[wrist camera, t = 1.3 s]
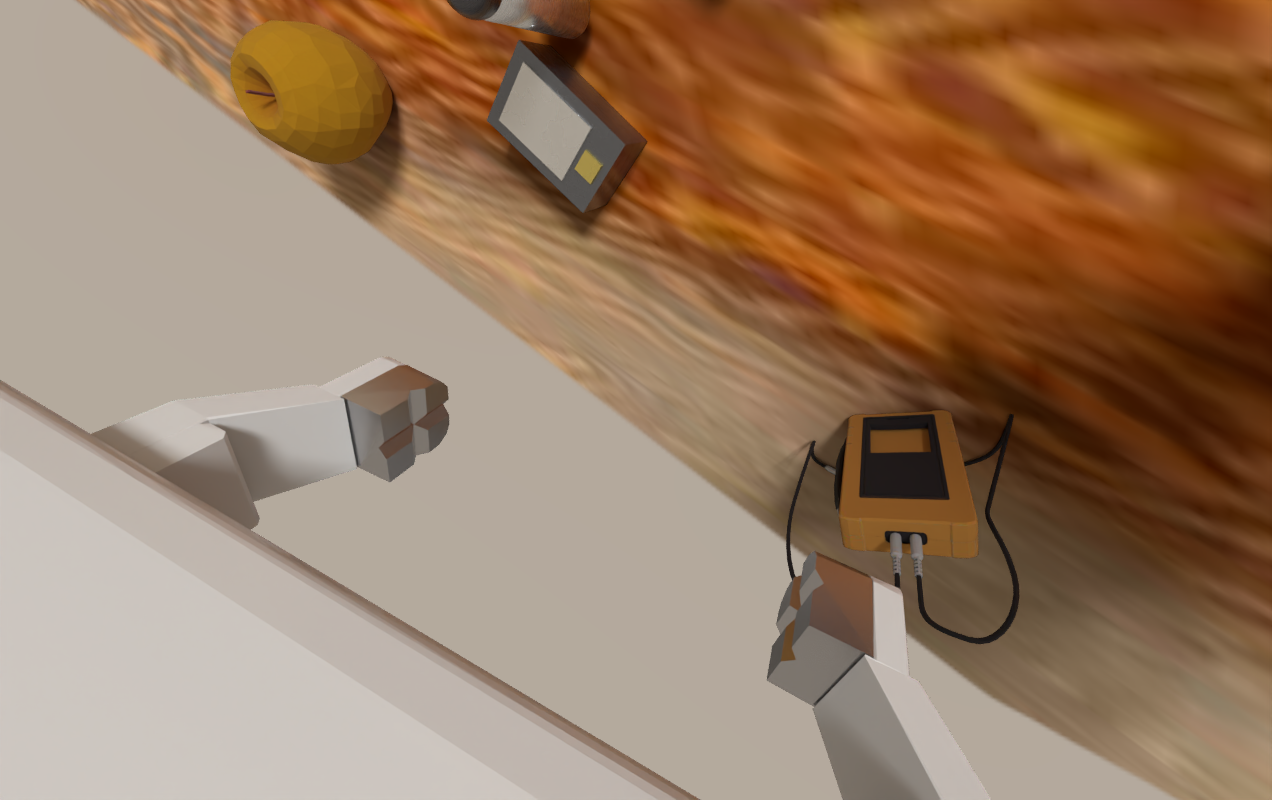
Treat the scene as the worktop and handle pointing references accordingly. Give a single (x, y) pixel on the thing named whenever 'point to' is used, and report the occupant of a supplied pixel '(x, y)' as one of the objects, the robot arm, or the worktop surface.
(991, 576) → the worktop surface
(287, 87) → the apple
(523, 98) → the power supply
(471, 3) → the grey crank handle
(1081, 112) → the worktop surface
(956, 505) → the multimeter
